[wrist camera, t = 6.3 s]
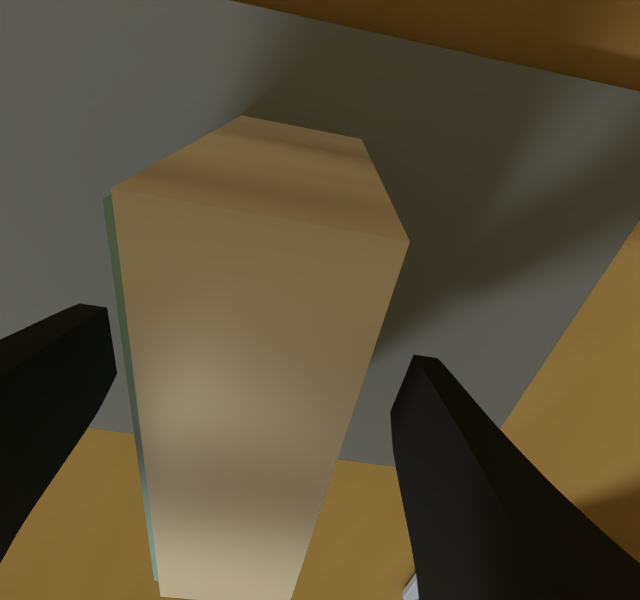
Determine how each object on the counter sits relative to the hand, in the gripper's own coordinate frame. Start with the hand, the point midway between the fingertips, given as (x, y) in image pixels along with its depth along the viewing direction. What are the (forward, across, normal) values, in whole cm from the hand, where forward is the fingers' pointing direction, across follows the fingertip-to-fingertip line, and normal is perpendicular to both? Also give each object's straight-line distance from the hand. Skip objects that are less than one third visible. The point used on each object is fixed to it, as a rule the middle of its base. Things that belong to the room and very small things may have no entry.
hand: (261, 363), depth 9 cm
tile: (+3, 0, 0) cm, 3 cm away
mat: (+3, 0, 0) cm, 3 cm away
